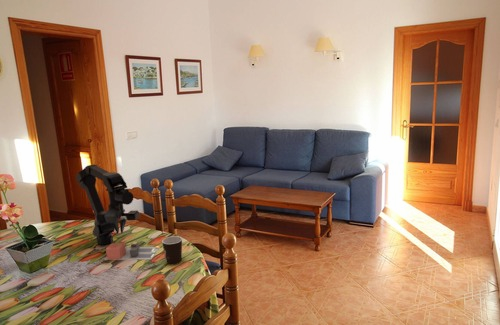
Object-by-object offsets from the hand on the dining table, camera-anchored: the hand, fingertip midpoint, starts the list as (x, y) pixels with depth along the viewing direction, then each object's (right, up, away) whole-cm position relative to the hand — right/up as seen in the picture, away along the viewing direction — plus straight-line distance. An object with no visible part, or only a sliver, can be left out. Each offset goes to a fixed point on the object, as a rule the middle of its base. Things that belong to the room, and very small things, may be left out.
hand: (120, 232), depth 177 cm
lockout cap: (0, -10, -4) cm, 11 cm away
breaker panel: (+7, -10, -2) cm, 12 cm away
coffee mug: (+27, -11, -8) cm, 30 cm away
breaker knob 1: (+7, -8, +1) cm, 11 cm away
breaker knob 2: (+8, -9, -5) cm, 13 cm away
